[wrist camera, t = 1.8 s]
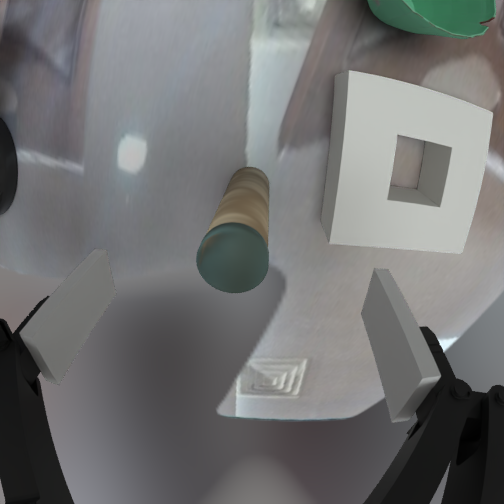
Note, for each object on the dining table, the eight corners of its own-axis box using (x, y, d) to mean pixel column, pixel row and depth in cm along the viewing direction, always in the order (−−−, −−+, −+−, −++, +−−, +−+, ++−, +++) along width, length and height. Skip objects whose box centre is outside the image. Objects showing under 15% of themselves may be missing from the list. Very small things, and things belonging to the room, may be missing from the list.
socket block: (320, 220, 29) (329, 243, 25) (335, 75, 22) (349, 70, 18) (439, 231, 28) (461, 253, 24) (463, 107, 22) (492, 112, 17)
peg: (229, 203, 29) (198, 290, 16) (230, 165, 27) (194, 228, 15) (268, 205, 29) (266, 295, 16) (270, 167, 27) (270, 232, 14)
